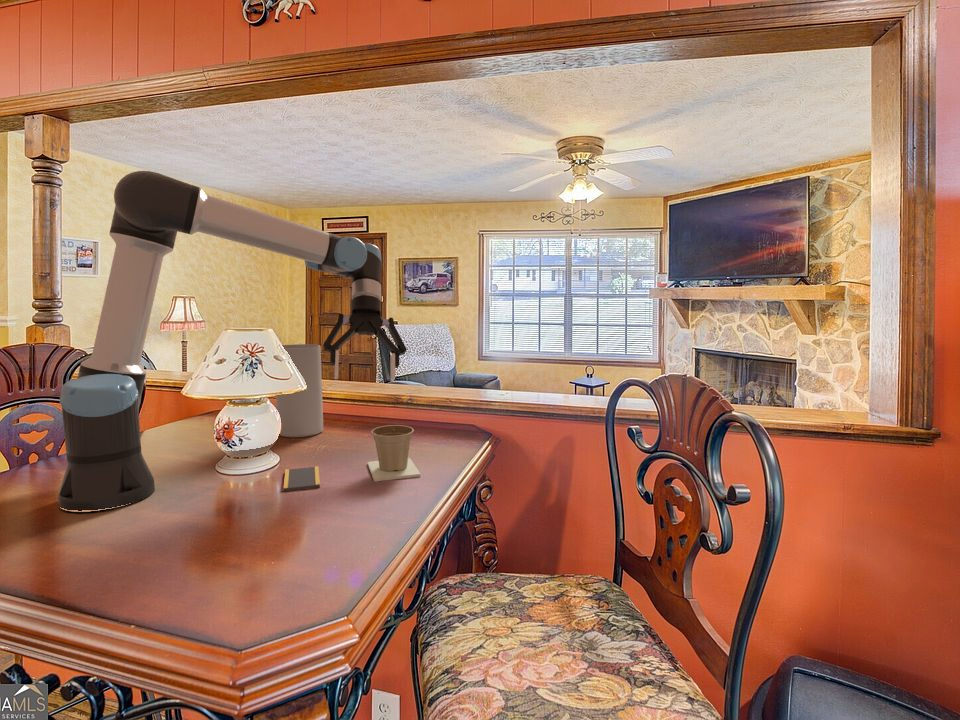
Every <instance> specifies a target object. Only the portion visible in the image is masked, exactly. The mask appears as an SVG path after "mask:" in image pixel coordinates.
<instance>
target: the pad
mask: <svg viewBox="0 0 960 720" xmlns="http://www.w3.org/2000/svg"><path fill="white" fill-rule="evenodd" d="M367 467H368V469H369V472H370V474H371V477H372V480H373V482H382V481H391V480H402V479H410V478H419V477H421V472H420V470H418V468H417V466H416V465H415V463H414V462H413V460H412V459H411V457H408V462H407V467H406V468H405V469H403V470H399V471H398V470H394V471H384V470H382V469H380V467H379V461H378V460H374V461H367Z"/></svg>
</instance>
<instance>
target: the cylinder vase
mask: <svg viewBox="0 0 960 720" xmlns="http://www.w3.org/2000/svg"><path fill="white" fill-rule="evenodd" d="M281 345H282V346H283V347H284V349H285V350H286V351H287V352H288V354H289V355H290V357H291V359H292V361H293V363H294V364H295V366H296V367H297V369H298V370H299V372H300V373H301V375H302V376H303V377H304V379H305V382H306V385H307V390H304V391H300V392H296V393H293V394H286V395H279V396H276V395H275V405H276V407H275V409H277V410H278V412H279V414H280V417H281V423H282V430H281V434H280V435H279V436H281V437H284V438H295V439H296V438H307V437H312V436H315V435H318V434H320V433H322V432H323V430H324V415H323V414H324V413H323V411H324V410H323V405H324V404H323V380H322V353H321V351H322V348H321V345H319V344H310V343H309V344H305V343H302V344H300V343H299V344H281Z"/></svg>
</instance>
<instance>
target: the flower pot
mask: <svg viewBox="0 0 960 720" xmlns="http://www.w3.org/2000/svg"><path fill="white" fill-rule="evenodd" d="M414 431H415V429H414V428H413V427H411V426H409V425H400V424H393V425H392V424H391V425H382V426H378V427H374V428H373V429H371V432H370V434H371V435H372V436H373V437H372V438H373V440H374V441H375V442H374V443H375V448H376V453H377V458H378V459H377V461H379V467H380V469H382V470H384V471H394V470H398V471H399V470H403V469H405V468H406V467H407V462H408V458H409V452H410V444H411V439H412V436H413V434H414Z"/></svg>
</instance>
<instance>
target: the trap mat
mask: <svg viewBox="0 0 960 720" xmlns="http://www.w3.org/2000/svg"><path fill="white" fill-rule="evenodd" d="M284 471H285V472H284V480H283V492H291V491H292V492H293V491H300V490H299V489H301V490H308V489H307V488H310V489H317V487H319V488H321V483H320V471H319V465H317V466H311V467H300V468H285V470H284Z"/></svg>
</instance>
